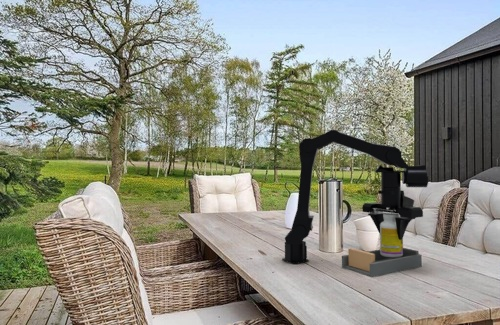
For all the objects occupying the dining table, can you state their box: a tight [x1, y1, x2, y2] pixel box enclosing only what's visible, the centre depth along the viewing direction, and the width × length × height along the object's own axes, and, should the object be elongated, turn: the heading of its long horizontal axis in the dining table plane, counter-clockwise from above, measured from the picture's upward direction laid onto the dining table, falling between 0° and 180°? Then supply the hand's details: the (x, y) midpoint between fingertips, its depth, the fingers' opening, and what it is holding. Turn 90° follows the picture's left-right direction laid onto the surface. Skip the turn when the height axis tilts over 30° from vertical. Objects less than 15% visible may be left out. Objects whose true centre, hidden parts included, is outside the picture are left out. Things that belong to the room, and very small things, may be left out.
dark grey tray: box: [341, 247, 423, 278], centre depth 118 cm, size 21×12×5 cm, turn 120°
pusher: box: [347, 247, 375, 272], centre depth 114 cm, size 1×9×5 cm, turn 30°
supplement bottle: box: [379, 212, 404, 258], centre depth 121 cm, size 7×7×13 cm
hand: (391, 237), depth 121 cm, fingers closed on supplement bottle, 7 cm apart
